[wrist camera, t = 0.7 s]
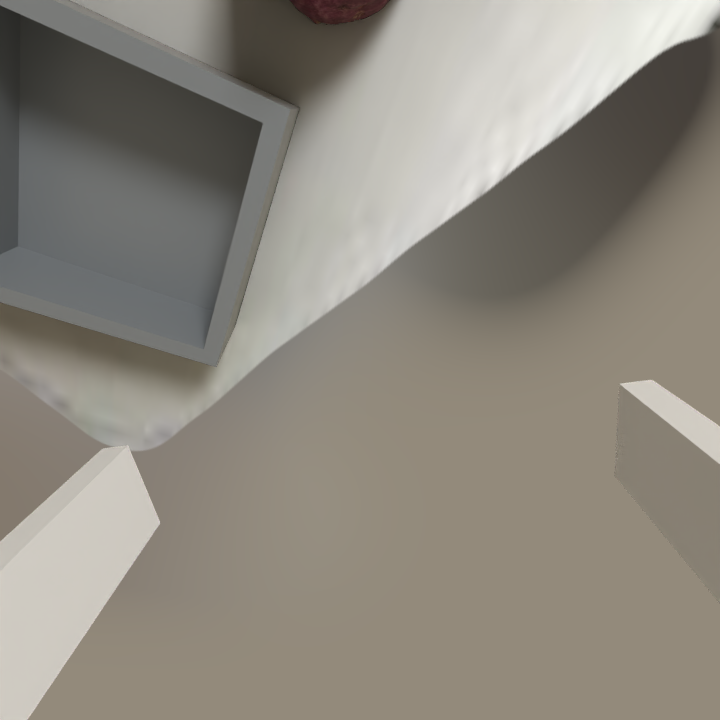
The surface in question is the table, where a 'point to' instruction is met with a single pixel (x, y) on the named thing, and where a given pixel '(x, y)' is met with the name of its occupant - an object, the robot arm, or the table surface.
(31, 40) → the bin
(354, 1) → the vegetable
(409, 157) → the table surface
